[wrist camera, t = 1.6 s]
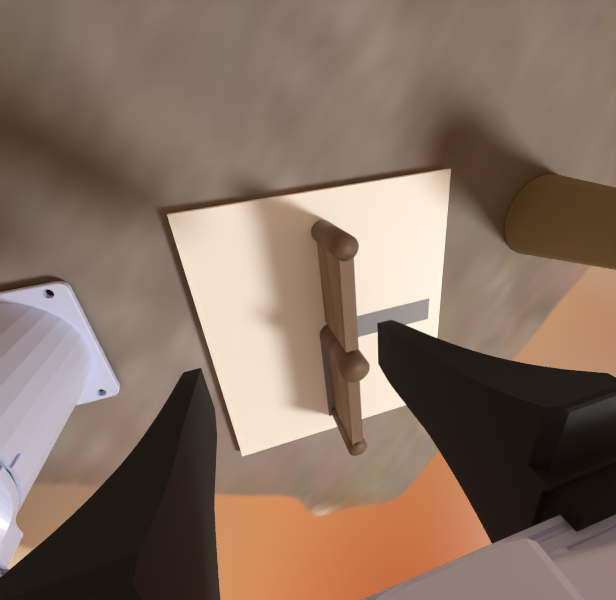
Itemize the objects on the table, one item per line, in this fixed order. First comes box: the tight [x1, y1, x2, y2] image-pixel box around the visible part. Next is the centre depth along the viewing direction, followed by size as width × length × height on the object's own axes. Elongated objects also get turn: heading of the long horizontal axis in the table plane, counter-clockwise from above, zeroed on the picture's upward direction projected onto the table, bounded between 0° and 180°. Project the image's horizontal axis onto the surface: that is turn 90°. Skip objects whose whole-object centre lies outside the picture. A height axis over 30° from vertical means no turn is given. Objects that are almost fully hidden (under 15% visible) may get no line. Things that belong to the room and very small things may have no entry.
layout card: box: [167, 169, 451, 456], centre depth 23 cm, size 18×20×1 cm
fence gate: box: [311, 220, 359, 352], centre depth 19 cm, size 1×7×4 cm, turn 7°
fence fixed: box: [320, 324, 370, 456], centre depth 23 cm, size 2×9×4 cm, turn 7°
